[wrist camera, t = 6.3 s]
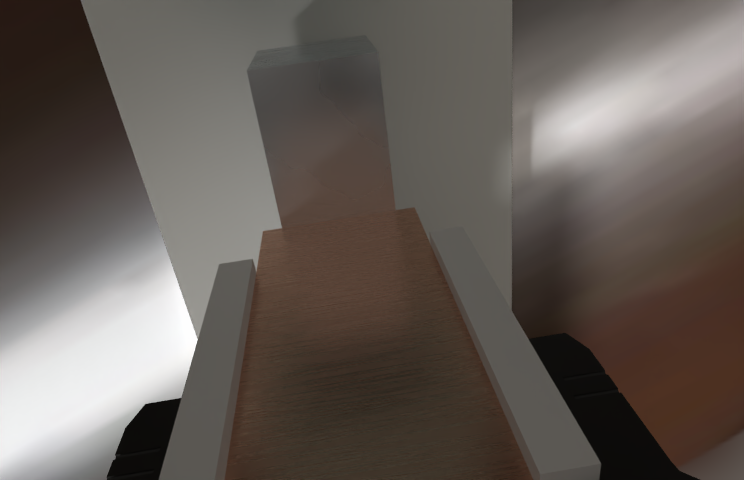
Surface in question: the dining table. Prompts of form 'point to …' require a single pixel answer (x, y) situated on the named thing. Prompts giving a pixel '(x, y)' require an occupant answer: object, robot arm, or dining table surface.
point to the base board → (242, 133)
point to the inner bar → (352, 301)
